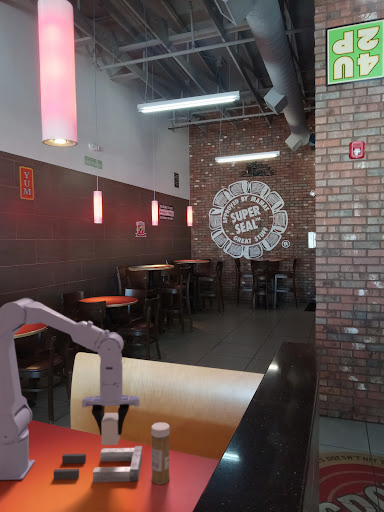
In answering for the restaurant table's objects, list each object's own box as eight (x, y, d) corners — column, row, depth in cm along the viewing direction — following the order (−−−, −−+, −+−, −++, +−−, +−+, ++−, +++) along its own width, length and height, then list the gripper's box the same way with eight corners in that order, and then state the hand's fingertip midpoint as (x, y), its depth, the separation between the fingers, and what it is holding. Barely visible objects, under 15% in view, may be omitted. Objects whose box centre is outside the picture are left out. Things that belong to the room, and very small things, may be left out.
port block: (92, 482, 91) (92, 470, 91) (101, 457, 102) (102, 446, 102) (137, 481, 91) (138, 469, 91) (142, 456, 102) (142, 445, 102)
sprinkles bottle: (173, 481, 91) (173, 426, 91) (156, 487, 89) (156, 431, 88) (164, 472, 95) (164, 419, 95) (148, 477, 92) (148, 424, 92)
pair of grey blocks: (53, 479, 92) (53, 471, 92) (63, 461, 100) (63, 454, 100) (78, 479, 92) (78, 471, 92) (85, 460, 100) (85, 453, 100)
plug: (101, 445, 94) (101, 421, 93) (105, 435, 99) (105, 412, 98) (117, 444, 94) (117, 421, 94) (120, 435, 99) (120, 412, 99)
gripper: (140, 375, 100) (140, 425, 100) (86, 376, 100) (86, 426, 100) (138, 385, 93) (138, 438, 93) (79, 385, 93) (80, 439, 93)
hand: (111, 433), depth 96 cm, fingers closed on plug, 4 cm apart
